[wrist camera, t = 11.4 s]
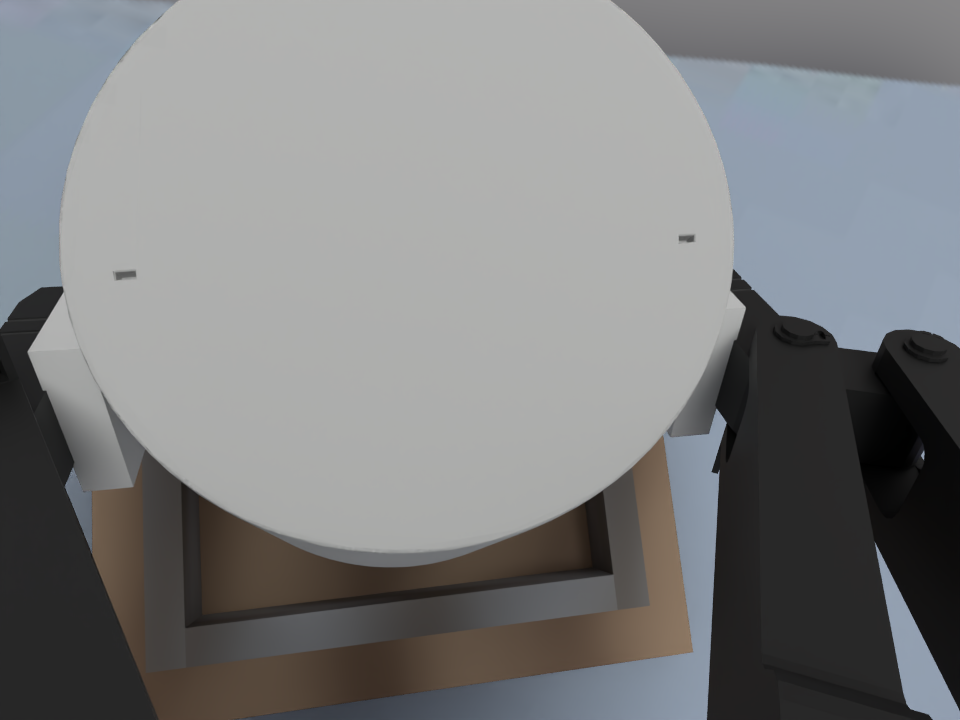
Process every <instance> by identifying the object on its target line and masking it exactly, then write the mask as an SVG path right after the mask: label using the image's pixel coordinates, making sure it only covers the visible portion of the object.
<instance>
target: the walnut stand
mask: <svg viewBox="0 0 960 720" xmlns="http://www.w3.org/2000/svg"><path fill="white" fill-rule="evenodd" d="M92 555H93V558H94V560H95V563H96V565H97V568H98V570H99V573H100V575H101V578H102V580H103V583H104V585H105V588H106V590H107V593H108V595H109V598H110V600H111V603H112V605H113V608H114V610H115V613H116V615H117V617H118V620H119V622H120V625H121V627H122V630H123V632H124V635H125V637H126V640H127V642H128V645H129V647H130V650H131V652H132V655H133V657H134V660H135V662H136V665H137V667H138V670H139V672H140V674H141V677H142V679H143V682H144V684H145V687H146V689H147V692H148V694H149V697H150V699H151V702H152V704H153V707H154V709H155V712H156V714H157V717H158V719H159V720H233V719H240V718H247V717H254V716H261V715H268V714H274V713H281V712H288V711H295V710H302V709H308V708H315V707H322V706H329V705H336V704H343V703H349V702H356V701H363V700H370V699H377V698H383V697H390V696H397V695H404V694H411V693H418V692H424V691H431V690H438V689H445V688H452V687H459V686H465V685H472V684H479V683H486V682H493V681H499V680H506V679H513V678H520V677H527V676H534V675H540V674H547V673H554V672H561V671H568V670H574V669H581V668H588V667H595V666H602V665H609V664H615V663H622V662H629V661H636V660H643V659H650V658H656V657H663V656H670V655H677V654H684V653H690V652H693V649H692V642H691V634H690V627H689V620H688V613H687V605H686V598H685V591H684V584H683V576H682V569H681V562H680V554H679V547H678V540H677V533H676V525H675V518H674V511H673V504H672V496H671V489H670V482H669V475H668V467H667V460H666V453H665V446H664V438H663V436H662V437H661V438H660V439H659V440H658V441H657V442H656V444H655V445H654V446H653V447H652V448H651V449H650V450H649V451H648V452H647V453H646V454H645V455H644V456H643V457H642V458H641V459H640V460H639V461H638V462H637V463H636V464H635V465H634V466H633V467H632V468H631V469H629V470H628V471H627V472H626V473H625V474H623V475H622V476H621V477H620V478H619V479H617V480H616V481H615V482H614V483H612V484H611V485H609V486H608V487H607V488H605V489H604V490H602V491H601V492H600V493H598V494H597V495H595V496H594V497H592V498H591V499H589V500H588V501H586V502H584V503H583V504H581V505H580V506H578V507H576V508H574V509H573V510H571V511H569V512H567V513H565V514H563V515H561V516H559V517H557V518H555V519H553V520H551V521H549V522H547V523H545V524H543V525H540V526H538V527H536V528H533V529H531V530H528V531H526V532H524V533H521V534H519V535H516V536H513V537H511V538H508V539H505V540H503V541H500V542H497V543H495V544H492V545H489V546H487V547H484V548H482V549H479V550H476V551H474V552H471V553H468V554H466V555H463V556H460V557H456V558H453V559H450V560H446V561H442V562H437V563H432V564H427V565H419V566H410V567H370V566H361V565H354V564H348V563H344V562H340V561H335V560H331V559H328V558H324V557H321V556H318V555H315V554H312V553H310V552H307V551H305V550H302V549H300V548H298V547H296V546H293V545H291V544H289V543H287V542H285V541H283V540H281V539H279V538H277V537H276V536H274V535H272V534H270V533H268V532H266V531H264V530H262V529H260V528H258V527H255V526H253V525H251V524H249V523H247V522H245V521H243V520H241V519H239V518H237V517H236V516H234V515H232V514H230V513H228V512H226V511H224V510H223V509H221V508H219V507H218V506H216V505H214V504H212V503H211V502H209V501H208V500H206V499H205V498H203V497H201V496H200V495H198V494H197V493H196V492H194V491H193V490H192V489H190V488H189V487H188V486H186V485H185V484H184V483H182V482H181V481H180V480H179V479H177V478H176V477H175V476H174V475H172V474H171V473H170V472H169V471H168V470H166V469H165V468H164V467H163V466H162V465H161V464H160V463H159V462H158V461H157V460H156V459H155V458H154V457H153V456H151V455H150V453H149V452H148V451H147V450H146V449H145V451H144V454H143V458H142V461H141V464H140V467H139V471H138V474H137V477H136V480H135V484H134V487H130V488H119V489H108V490H98V491H92Z"/></svg>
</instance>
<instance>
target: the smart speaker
mask: <svg viewBox="0 0 960 720" xmlns="http://www.w3.org/2000/svg"><path fill="white" fill-rule="evenodd" d="M733 255H734V231H733V215H732V208H731V200H730V193H729V187H728V183H727V179H726V174H725V170H724V166H723V163H722V160H721V156H720V153H719V150H718V147H717V144H716V141H715V139H714V136H713V134H712V132H711V129H710V127H709V124H708V122H707V119H706V117H705V116H704V114H703V112H702V110H701V108H700V106H699V104H698V103H697V101H696V99H695V97H694V95H693V94H692V92H691V90H690V89H689V87H688V85H687V84H686V82H685V81H684V79H683V77H682V76H681V74H680V72H679V71H678V70H677V69H676V67H675V66H674V65H673V63H672V62H671V61H670V60H669V58H668V57H667V56H666V54H665V53H664V52H663V51H662V49H661V48H660V47H659V46H658V44H657V43H656V42H655V41H654V40H653V39H652V38H651V37H650V36H649V35H648V34H647V33H646V32H645V31H644V30H643V28H642V27H641V26H640V25H639V24H637V23H636V22H635V21H634V20H633V19H632V18H631V17H630V16H629V15H628V14H627V13H625V12H624V11H623V10H622V9H621V8H619V7H618V6H617V5H616V4H614V3H613V2H612V1H611V0H178V1H177V2H176V3H175V4H174V5H173V6H172V7H170V8H169V9H168V10H167V11H166V12H165V13H164V14H163V15H162V16H161V17H160V18H158V19H157V20H156V21H155V22H154V23H153V24H152V25H151V26H150V27H149V28H148V29H147V30H146V31H145V32H144V33H143V34H142V35H141V36H140V37H139V38H138V39H137V40H136V41H135V43H134V44H133V45H132V46H131V47H130V49H129V50H128V51H127V52H126V53H125V55H124V56H123V57H122V58H121V59H120V61H119V62H118V64H117V65H116V67H115V68H114V69H113V71H112V72H111V74H110V75H109V76H108V78H107V79H106V81H105V83H104V85H103V86H102V88H101V90H100V91H99V93H98V95H97V97H96V98H95V100H94V102H93V104H92V105H91V107H90V110H89V112H88V114H87V117H86V119H85V121H84V124H83V126H82V128H81V131H80V133H79V135H78V138H77V140H76V143H75V146H74V150H73V153H72V156H71V160H70V163H69V166H68V170H67V174H66V179H65V184H64V189H63V194H62V199H61V210H60V220H59V263H60V271H61V279H62V285H63V290H64V295H65V300H66V305H67V310H68V315H69V319H70V321H71V324H72V327H73V330H74V333H75V336H76V339H77V342H78V345H79V347H80V350H81V352H82V354H83V356H84V359H85V361H86V363H87V365H88V368H89V370H90V372H91V374H92V376H93V378H94V380H95V382H96V384H97V385H98V387H99V388H100V390H101V392H102V393H103V395H104V396H105V398H106V400H107V401H108V403H109V405H110V406H111V408H112V409H113V411H114V412H115V413H116V415H117V416H118V417H119V418H120V420H121V421H122V422H123V424H124V425H125V426H126V428H127V429H128V430H129V431H130V433H131V434H132V435H133V436H134V437H135V438H136V439H137V440H138V441H139V443H140V444H141V445H142V446H143V447H144V448H145V449H146V450H147V451H148V452H149V453H150V455H151V456H153V457H154V458H155V459H156V460H157V461H158V462H159V463H160V464H161V465H162V466H163V467H164V468H165V469H166V470H168V471H169V472H170V473H171V474H172V475H174V476H175V477H176V478H177V479H179V480H180V481H181V482H182V483H184V484H185V485H186V486H188V487H189V488H190V489H192V490H193V491H194V492H196V493H197V494H198V495H200V496H201V497H203V498H205V499H206V500H208V501H209V502H211V503H212V504H214V505H216V506H218V507H219V508H221V509H223V510H224V511H226V512H228V513H230V514H232V515H234V516H236V517H237V518H239V519H241V520H243V521H245V522H247V523H249V524H251V525H253V526H255V527H258V528H260V529H262V530H264V531H266V532H268V533H270V534H272V535H274V536H276V537H277V538H279V539H281V540H283V541H285V542H287V543H289V544H291V545H293V546H296V547H298V548H300V549H302V550H305V551H307V552H310V553H312V554H315V555H318V556H321V557H324V558H328V559H331V560H335V561H340V562H344V563H348V564H354V565H361V566H370V567H410V566H419V565H427V564H432V563H437V562H442V561H446V560H450V559H453V558H456V557H460V556H463V555H466V554H468V553H471V552H474V551H476V550H479V549H482V548H484V547H487V546H489V545H492V544H495V543H497V542H500V541H503V540H505V539H508V538H511V537H513V536H516V535H519V534H521V533H524V532H526V531H528V530H531V529H533V528H536V527H538V526H540V525H543V524H545V523H547V522H549V521H551V520H553V519H555V518H557V517H559V516H561V515H563V514H565V513H567V512H569V511H571V510H573V509H574V508H576V507H578V506H580V505H581V504H583V503H584V502H586V501H588V500H589V499H591V498H592V497H594V496H595V495H597V494H598V493H600V492H601V491H602V490H604V489H605V488H607V487H608V486H609V485H611V484H612V483H614V482H615V481H616V480H617V479H619V478H620V477H621V476H622V475H623V474H625V473H626V472H627V471H628V470H629V469H631V468H632V467H633V466H634V465H635V464H636V463H637V462H638V461H639V460H640V459H641V458H642V457H643V456H644V455H645V454H646V453H647V452H648V451H649V450H650V449H651V448H652V447H653V446H654V445H655V444H656V442H657V441H658V440H659V439H660V438H661V437H662V436H663V434H664V433H665V432H666V431H667V430H668V429H669V427H670V426H671V424H672V423H673V422H674V420H675V419H676V418H677V416H678V415H679V414H680V412H681V411H682V409H683V408H684V406H685V405H686V403H687V401H688V400H689V398H690V397H691V395H692V393H693V392H694V390H695V388H696V387H697V385H698V383H699V381H700V379H701V377H702V375H703V373H704V371H705V369H706V367H707V365H708V363H709V360H710V358H711V355H712V353H713V350H714V348H715V345H716V343H717V340H718V337H719V334H720V330H721V327H722V324H723V320H724V317H725V312H726V307H727V302H728V298H729V293H730V288H731V283H732V273H733Z"/></svg>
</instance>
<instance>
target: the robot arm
mask: <svg viewBox="0 0 960 720" xmlns="http://www.w3.org/2000/svg"><path fill="white" fill-rule="evenodd" d="M716 408H717V409H718V411H719V412H720V413H721V415H722V416H723V418H724V419H725V421H726V422H727V424H726V427H725V431H724V434H723V437H722V440H721V443H720V447H719V450H718V453H717V456H716V460H715V463H714V466H713V469H712V472H713V473H717V474H718V472H719V470H720V473H719V493H718V513H717V533H716V552H715V572H714V592H713V612H712V632H711V652H710V672H709V692H708V711H707V720H932V718H931V717H930V716H929V715H928V714H925V713H921V712H918V711H914V710H911V709H910V708H909V707H908V706H907V704H906V701H905V698H904V694H903V690H902V684H901V679H900V674H899V669H898V663H897V658H896V653H895V647H894V642H893V637H892V632H891V626H890V621H889V616H888V610H887V605H886V600H885V595H884V589H883V584H882V579H881V573H880V568H879V563H878V558H877V552H876V547H875V543H876V545H877V547H878V549H879V551H880V553H881V555H882V557H883V559H884V561H885V563H886V565H887V567H888V569H889V571H890V573H891V575H892V577H893V579H894V581H895V583H896V585H897V587H898V589H899V591H900V593H901V595H902V597H903V599H904V601H905V603H906V605H907V606H908V608H909V610H910V612H911V614H912V616H913V618H914V620H915V622H916V624H917V626H918V628H919V630H920V632H921V634H922V636H923V638H924V640H925V642H926V644H927V646H928V648H929V650H930V652H931V654H932V656H933V658H934V660H935V662H936V664H937V666H938V668H939V670H940V672H941V674H942V676H943V678H944V680H945V682H946V684H947V686H948V688H949V690H950V692H951V694H952V696H953V698H954V700H955V702H956V704H957V706H958V708H959V710H960V348H959V347H957V346H956V345H955V344H953V343H951V342H949V341H947V340H945V339H944V338H943V337H941V336H939V335H936V334H933V335H932V334H931V333H930V332H926V331H915V330H895V331H892V332H889V333H887V334H886V335H885V337H884V339H883V341H882V343H881V346H880V348H879V350H878V353H876V352H868V351H860V350H852V349H844V348H838V346H837V342H836V341H835V339H834V337H833V335H832V334H831V333H829V332H828V331H827V330H826V329H824V328H823V327H821V326H819V325H817V324H815V323H813V322H811V321H808V320H804V319H800V318H797V317H790V316H779V315H778V314H777V313H776V312H775V311H774V310H773V309H772V308H771V307H770V306H769V305H768V304H767V303H766V302H765V301H764V300H763V299H762V298H761V297H760V296H759V295H758V294H757V293H756V292H755V291H754V290H751V287H750V286H749V285H748V283H747V282H746V281H745V280H741V276H740V275H739V274H738V273H737V272H736V271H735V270H734V269H733V273H732V283H731V288H730V293H729V298H728V302H727V307H726V312H725V317H724V320H723V324H722V327H721V330H720V334H719V337H718V340H717V343H716V345H715V348H714V350H713V353H712V355H711V358H710V360H709V363H708V365H707V367H706V369H705V371H704V373H703V375H702V377H701V379H700V381H699V383H698V385H697V387H696V388H695V390H694V392H693V393H692V395H691V397H690V398H689V400H688V401H687V403H686V405H685V406H684V408H683V409H682V411H681V412H680V414H679V415H678V416H677V418H676V419H675V420H674V422H673V423H672V424H671V426H670V427H669V429H668V430H667V432H668V434H669V436H670V437H680V436H690V435H701V434H709V431H710V428H711V425H712V421H713V418H714V414H715V411H716ZM144 451H145V448H144V447H143V446H142V445H141V444H140V443H139V441H138V440H137V439H136V438H135V437H134V436H133V435H132V434H131V433H130V431H129V430H128V429H127V428H126V426H125V425H124V424H123V422H122V421H121V420H120V418H119V417H118V416H117V415H116V413H115V412H114V411H113V409H112V408H111V406H110V405H109V403H108V401H107V400H106V398H105V396H104V395H103V393H102V392H101V390H100V388H99V387H98V385H97V384H96V382H95V380H94V378H93V376H92V374H91V372H90V370H89V368H88V365H87V363H86V361H85V359H84V356H83V354H82V352H81V350H80V347H79V345H78V342H77V339H76V336H75V333H74V330H73V327H72V324H71V321H70V319H69V315H68V310H67V305H66V300H65V295H64V290H63V287H42V288H40V289H38V290H37V291H35V292H34V293H32V294H31V295H29V296H28V297H26V298H25V299H23V300H22V301H20V302H19V303H18V304H17V306H16V307H15V309H14V310H13V312H12V313H11V315H10V316H9V317H8V322H5V323H4V325H3V326H2V327H1V329H0V720H159V719H158V717H157V714H156V712H155V709H154V707H153V704H152V702H151V699H150V697H149V694H148V692H147V689H146V687H145V684H144V682H143V679H142V677H141V674H140V672H139V670H138V667H137V665H136V662H135V660H134V657H133V655H132V652H131V650H130V647H129V645H128V642H127V640H126V637H125V635H124V632H123V630H122V627H121V625H120V622H119V620H118V617H117V615H116V613H115V610H114V608H113V605H112V603H111V600H110V598H109V595H108V593H107V590H106V588H105V585H104V583H103V580H102V578H101V575H100V573H99V570H98V568H97V565H96V563H95V560H94V558H93V555H92V553H91V551H90V548H89V546H88V543H87V541H86V538H85V536H84V533H83V531H82V528H81V526H80V523H79V521H78V518H77V516H76V513H75V511H74V508H73V506H72V503H71V501H70V499H69V496H68V494H67V491H66V489H65V484H66V482H67V480H68V477H69V475H70V472H71V470H72V468H73V467H74V470H75V472H76V475H77V477H78V480H79V482H80V485H81V487H82V490H83V492H87V491H98V490H108V489H119V488H130V487H134V484H135V480H136V477H137V474H138V471H139V467H140V464H141V461H142V458H143V454H144ZM923 451H924V452H925V455H924V460H923V459H922V457H921V454H922V453H923ZM874 541H875V542H874Z"/></svg>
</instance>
